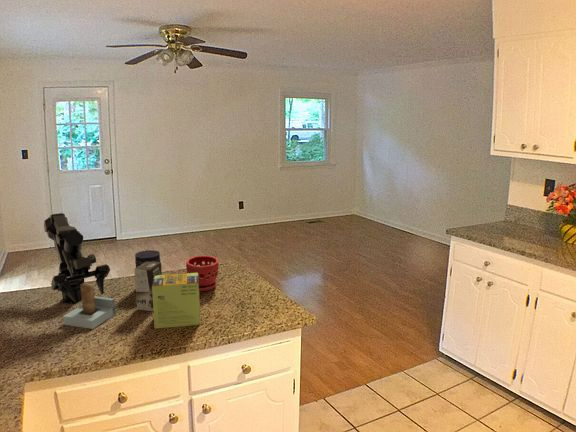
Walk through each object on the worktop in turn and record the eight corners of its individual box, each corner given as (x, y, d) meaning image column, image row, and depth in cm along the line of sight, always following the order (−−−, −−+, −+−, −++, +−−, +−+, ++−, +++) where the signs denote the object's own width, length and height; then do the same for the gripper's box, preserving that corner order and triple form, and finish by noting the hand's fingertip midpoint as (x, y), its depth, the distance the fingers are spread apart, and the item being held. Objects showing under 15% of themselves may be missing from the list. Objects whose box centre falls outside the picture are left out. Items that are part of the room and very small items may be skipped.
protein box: (200, 325, 152) (198, 282, 149) (154, 329, 149) (151, 286, 146) (200, 312, 162) (198, 272, 159) (156, 315, 159) (153, 275, 156)
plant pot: (181, 292, 180) (180, 264, 178) (195, 280, 193) (194, 254, 190) (212, 295, 178) (211, 266, 175) (223, 283, 190) (222, 256, 187)
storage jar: (152, 282, 191) (150, 248, 187) (167, 287, 185) (165, 253, 182) (132, 289, 183) (129, 254, 180) (147, 294, 177) (144, 259, 174)
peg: (81, 320, 155) (77, 285, 152) (89, 315, 158) (85, 281, 156) (91, 322, 154) (87, 287, 151) (98, 317, 157) (95, 283, 155)
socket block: (63, 324, 152) (61, 308, 151) (87, 309, 163) (86, 294, 162) (93, 329, 149) (91, 312, 147) (115, 314, 160) (114, 298, 159)
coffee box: (152, 311, 162) (149, 269, 159) (136, 309, 164) (133, 268, 160) (164, 301, 171) (161, 261, 168) (148, 300, 172) (146, 260, 169)
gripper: (49, 253, 147) (64, 294, 142) (105, 242, 159) (121, 279, 154) (45, 270, 154) (59, 309, 149) (99, 258, 167) (113, 294, 162)
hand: (89, 297), depth 153 cm, fingers open, 9 cm apart
